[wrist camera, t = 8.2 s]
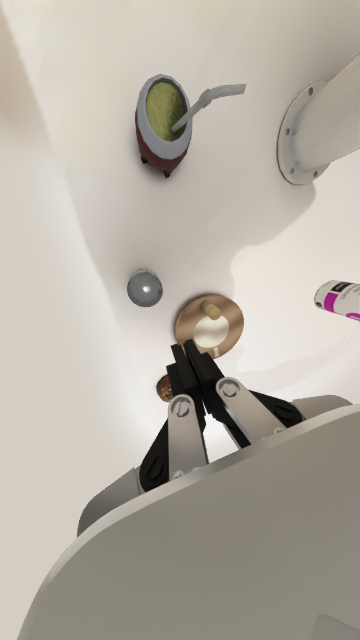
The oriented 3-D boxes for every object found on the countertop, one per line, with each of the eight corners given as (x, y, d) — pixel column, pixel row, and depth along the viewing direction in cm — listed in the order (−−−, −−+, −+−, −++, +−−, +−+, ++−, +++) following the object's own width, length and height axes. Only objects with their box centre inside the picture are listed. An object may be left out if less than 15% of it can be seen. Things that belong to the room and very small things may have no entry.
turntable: (164, 310, 33) (170, 324, 27) (235, 284, 34) (255, 291, 28) (185, 364, 41) (193, 385, 34) (242, 341, 42) (259, 357, 36)
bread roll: (157, 371, 42) (162, 386, 38) (193, 366, 46) (200, 379, 42) (153, 398, 46) (157, 414, 42) (185, 391, 51) (192, 405, 47)
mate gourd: (127, 131, 22) (106, -52, 9) (176, 110, 22) (227, -99, 9) (151, 192, 25) (161, 128, 12) (192, 173, 26) (247, 90, 12)
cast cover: (137, 263, 29) (136, 266, 24) (164, 277, 32) (168, 283, 26) (125, 290, 31) (121, 298, 26) (151, 302, 33) (153, 312, 28)
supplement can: (322, 310, 47) (393, 334, 33) (307, 301, 44) (379, 323, 30) (341, 287, 44) (426, 302, 31) (327, 275, 41) (414, 286, 28)
